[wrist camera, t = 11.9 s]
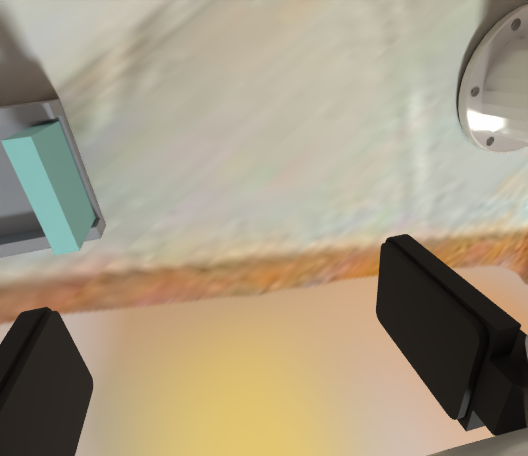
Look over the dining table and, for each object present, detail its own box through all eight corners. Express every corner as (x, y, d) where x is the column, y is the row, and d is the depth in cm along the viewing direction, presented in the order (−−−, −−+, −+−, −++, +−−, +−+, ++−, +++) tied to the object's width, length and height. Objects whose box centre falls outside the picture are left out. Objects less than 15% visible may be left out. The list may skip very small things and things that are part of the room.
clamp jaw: (59, 120, 23) (30, 136, 18) (95, 217, 26) (79, 250, 22) (35, 124, 23) (0, 140, 18) (75, 221, 26) (54, 255, 22)
